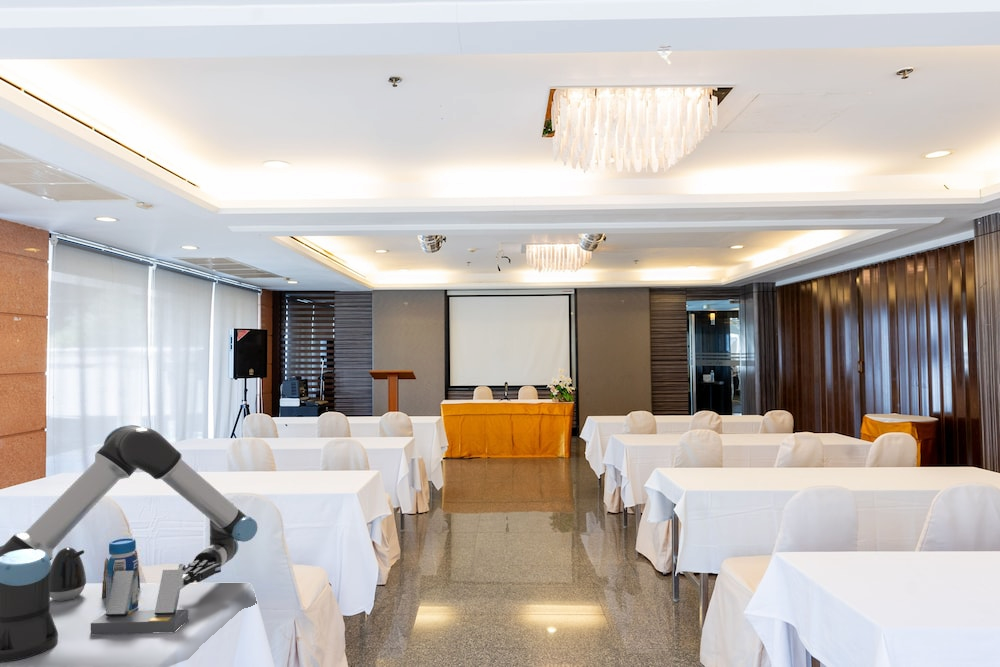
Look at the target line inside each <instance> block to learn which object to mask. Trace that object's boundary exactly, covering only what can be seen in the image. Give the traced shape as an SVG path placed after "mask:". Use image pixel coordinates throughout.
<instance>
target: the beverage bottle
mask: <svg viewBox="0 0 1000 667" xmlns="http://www.w3.org/2000/svg"><path fill="white" fill-rule="evenodd" d="M136 543H137V541H136V538H133V537H132V538H131V537H126V538H117V539H113V540H111V541H110V542H109V543H108V554H109V556H110V557H109V559H108V562H107V565H106V569H107V573H106V575H105V579H106V599H105V612H106V611H107V607H108V602H109V598H110V593H111V589H112V585H113V580H114V576H115V572H116V571H137V574H136V578H135V583H134V588H133V592H132V597H131V602H130V606H129V610H133V611H137V609H138V608H139V589H138V575H139V576H140V569H139V558H138V559H137V557H136V555H135V554H134V552H135V550H136V548H137V547H136V545H137V544H136ZM137 565H138V567H137Z"/></svg>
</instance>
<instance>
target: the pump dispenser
mask: <svg viewBox="0 0 1000 667" xmlns="http://www.w3.org/2000/svg"><path fill="white" fill-rule="evenodd" d="M84 554H85V550H83V549H82V550H79V551H77V550H76V549H75V548H74V547H64V548H62V549H61V550H59V551H58V552H57V553H56V555H55V557H54V558H53V559H52V562H51V569H50V599H52V600H54V601H57V602H65V601H71V600H73V599H75V598H77V597H78V596H79V595H81V594H82V592H83V591H84V589H85V587H86V586H85V585H86V584H87V575H86V571H85V566H84V563H83V561H82V558H81V555H84Z"/></svg>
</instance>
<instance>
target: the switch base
mask: <svg viewBox="0 0 1000 667" xmlns="http://www.w3.org/2000/svg"><path fill="white" fill-rule="evenodd" d="M187 620H188V621H189V609H187V608H186V609H177V610H176V614H175V615H155V609H152V610H149V609H148V610H147V609H146V610H134V611H133V610H129V611H128V614H127V616H106V612H105V613H104V614H102V615H100V616H99V617H98V618H96V619H95V620H93V621H92V622H90V635H91V636H93V635H92V634H100V635H129V634H130V635H131V634H132V635H134V634H135V633H139V634H154V633H153V632H175V631H176V630H177V629H178V628H179V627H180V626H181V625H183V624H184V623H185V622H186V621H187ZM188 621H187V622H188ZM187 622H186V623H187ZM186 623H185V624H186ZM185 624H184V625H185ZM184 625H183V626H184ZM180 628H181V627H180ZM180 628H179V629H180ZM179 629H178V630H179ZM178 630H177V631H178ZM177 631H176V632H177ZM176 632H175V633H176Z"/></svg>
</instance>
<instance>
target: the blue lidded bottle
mask: <svg viewBox="0 0 1000 667" xmlns="http://www.w3.org/2000/svg"><path fill="white" fill-rule="evenodd" d="M133 553H134V554H135V555H136V557H137V559H138V560H139V558H138V557H139V555H138V552H137V550H136V549H135V551H134V552H133ZM108 560H109V559H108V558H107V557H105V560H104V565H103V566H104V568H103V569H104V570H103V580H102V591H101V599H104V598H106V579H105V575H106V573H107V569H106V565H107V562H108ZM137 567H138V568H139V564H138V565H137ZM140 581H141V580H140V574H139V575H138V590H139V589H140V588H141V582H140Z"/></svg>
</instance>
